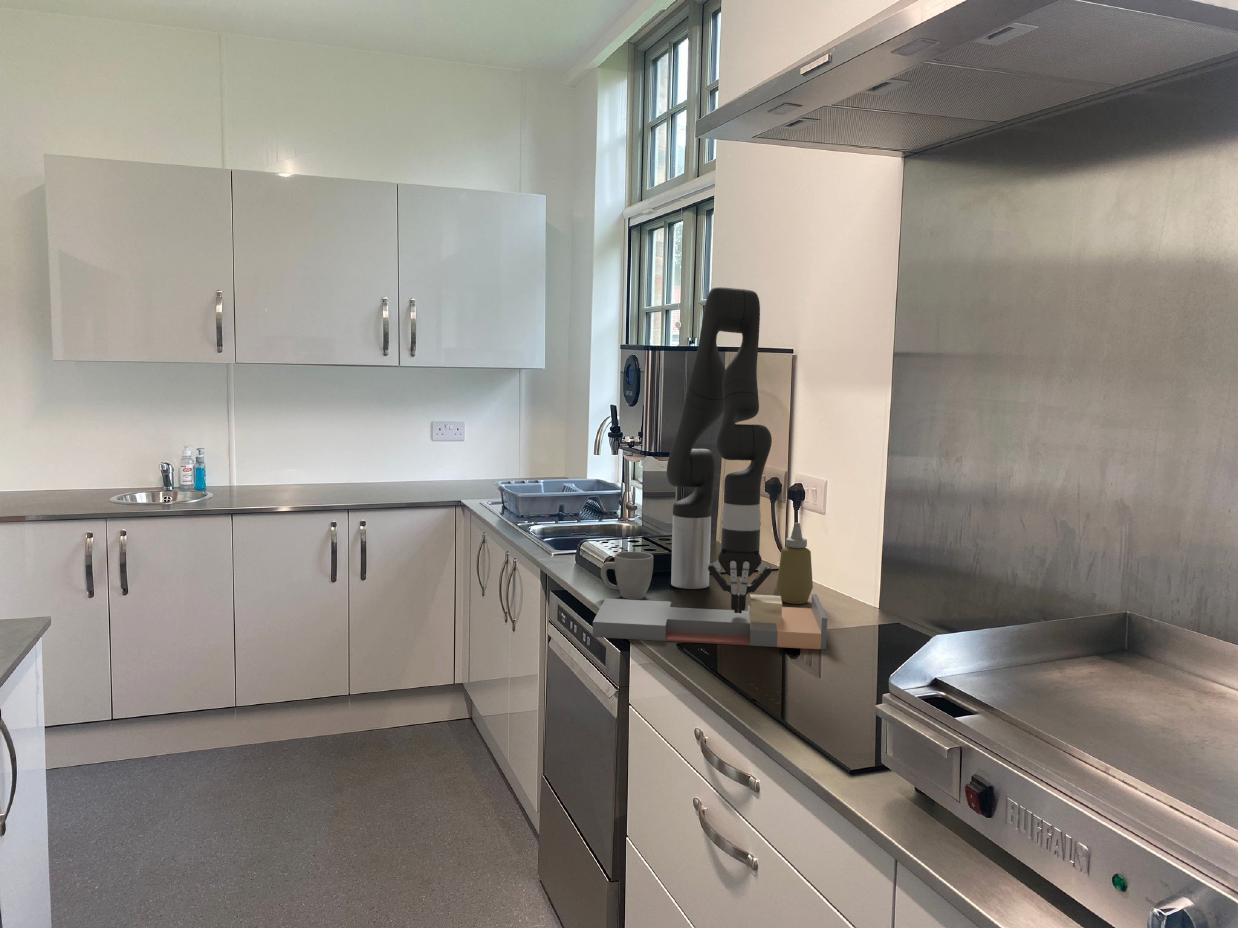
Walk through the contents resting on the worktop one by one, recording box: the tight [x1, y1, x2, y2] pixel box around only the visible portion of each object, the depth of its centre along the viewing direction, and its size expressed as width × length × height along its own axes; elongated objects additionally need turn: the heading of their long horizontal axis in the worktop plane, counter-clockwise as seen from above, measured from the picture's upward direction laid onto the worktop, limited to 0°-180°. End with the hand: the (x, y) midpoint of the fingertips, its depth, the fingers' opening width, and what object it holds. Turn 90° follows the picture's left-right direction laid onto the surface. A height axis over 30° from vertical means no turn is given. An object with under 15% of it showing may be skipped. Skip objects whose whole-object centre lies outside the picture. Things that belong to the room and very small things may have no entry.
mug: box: [600, 551, 654, 600], centre depth 196 cm, size 12×9×10 cm
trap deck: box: [592, 593, 828, 650], centre depth 171 cm, size 18×44×6 cm, turn 83°
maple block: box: [749, 593, 783, 624], centre depth 169 cm, size 6×6×4 cm
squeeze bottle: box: [776, 522, 814, 605], centre depth 194 cm, size 8×8×18 cm
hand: (737, 612), depth 170 cm, fingers closed
